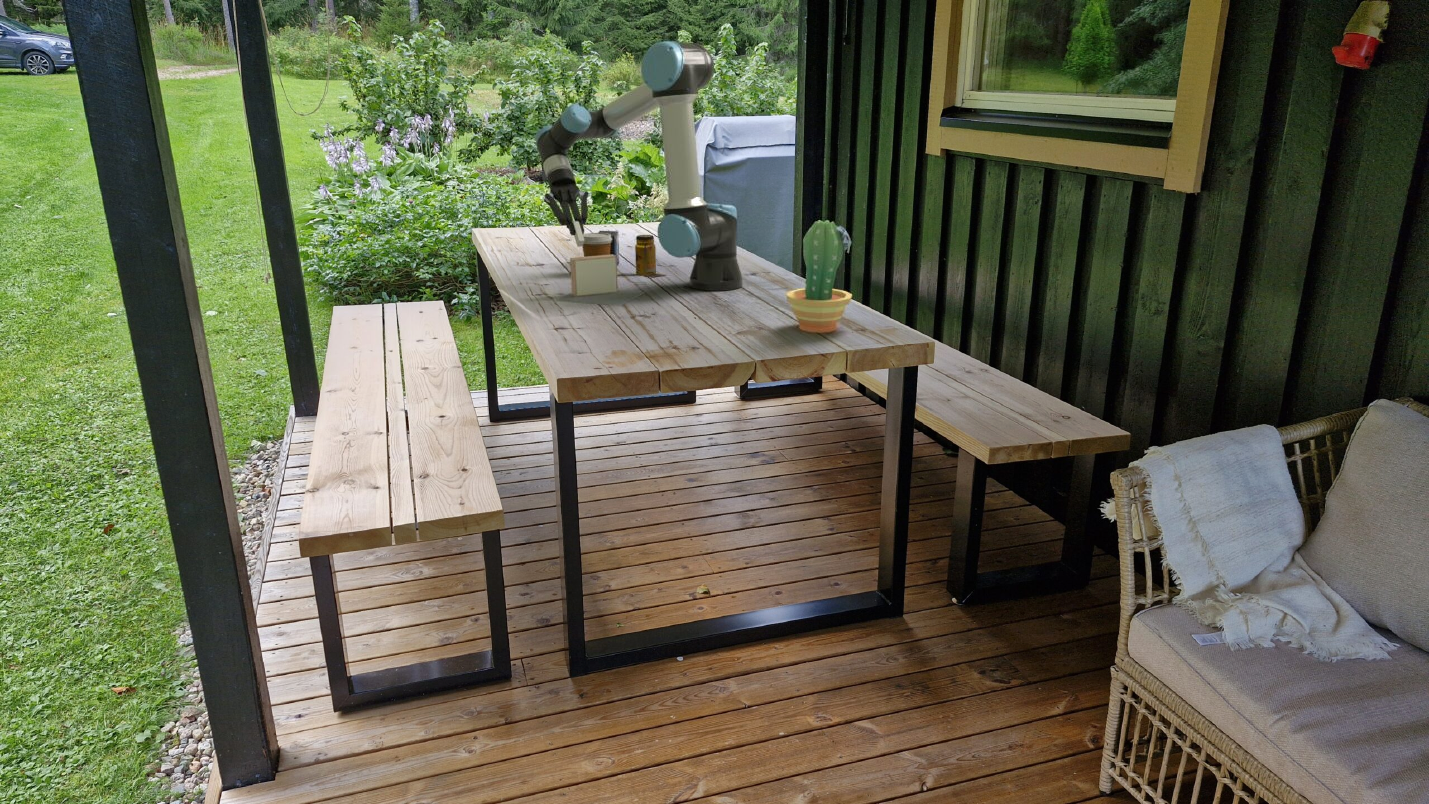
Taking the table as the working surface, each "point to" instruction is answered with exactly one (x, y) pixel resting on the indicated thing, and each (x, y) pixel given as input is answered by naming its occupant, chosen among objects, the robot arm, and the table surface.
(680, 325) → the table surface
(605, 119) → the robot arm
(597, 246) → the disposable coffee cup
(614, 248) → the small box
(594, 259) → the tile
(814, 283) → the potted cactus
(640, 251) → the condiment
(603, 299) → the mat
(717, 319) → the table surface
